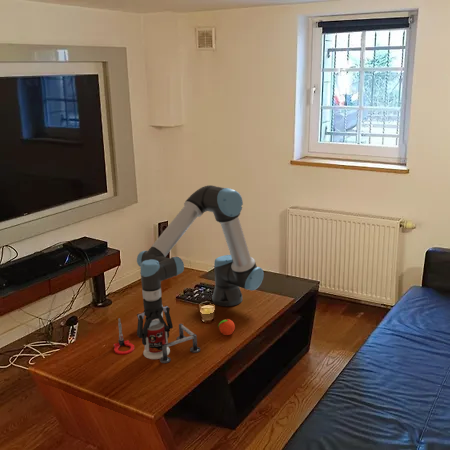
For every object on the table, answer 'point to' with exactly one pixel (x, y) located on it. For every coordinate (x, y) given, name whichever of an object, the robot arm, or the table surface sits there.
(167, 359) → the grey angled bar frame
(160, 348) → the canned food
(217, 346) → the table surface
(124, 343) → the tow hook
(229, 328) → the clementine
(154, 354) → the coaster
